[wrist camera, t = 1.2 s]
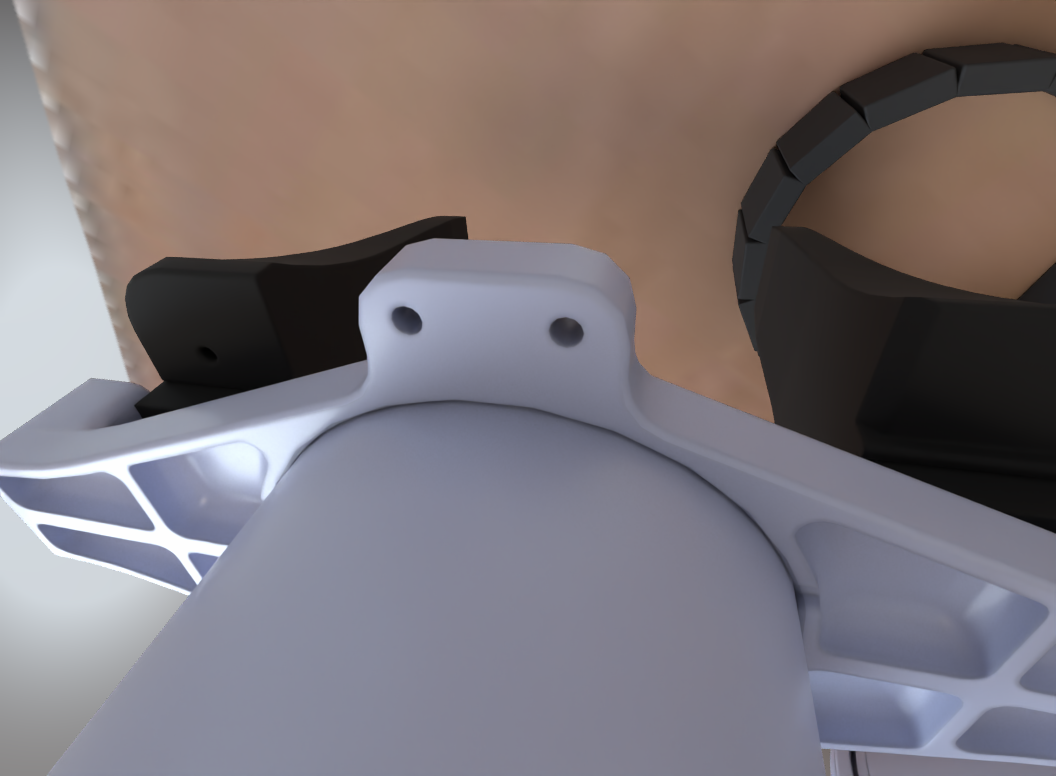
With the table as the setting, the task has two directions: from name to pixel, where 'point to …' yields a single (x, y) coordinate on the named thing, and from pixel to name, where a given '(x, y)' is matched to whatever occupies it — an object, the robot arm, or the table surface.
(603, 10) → the table surface
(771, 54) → the table surface
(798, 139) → the ring
